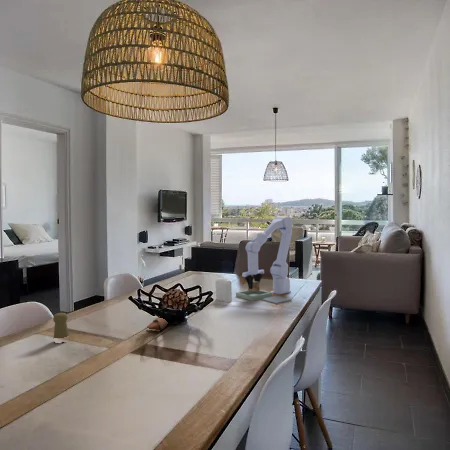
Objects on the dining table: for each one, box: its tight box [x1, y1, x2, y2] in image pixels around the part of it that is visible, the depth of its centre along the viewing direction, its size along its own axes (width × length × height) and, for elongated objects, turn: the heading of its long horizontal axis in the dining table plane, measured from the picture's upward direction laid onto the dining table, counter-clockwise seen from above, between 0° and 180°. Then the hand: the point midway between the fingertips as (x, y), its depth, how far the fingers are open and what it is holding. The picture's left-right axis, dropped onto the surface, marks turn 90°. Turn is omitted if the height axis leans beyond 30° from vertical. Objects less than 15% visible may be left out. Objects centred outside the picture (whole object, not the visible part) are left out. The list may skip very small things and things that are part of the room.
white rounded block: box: [215, 277, 233, 303], centre depth 211 cm, size 10×4×12 cm, turn 39°
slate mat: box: [261, 295, 292, 305], centre depth 208 cm, size 11×11×1 cm
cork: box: [52, 312, 70, 339], centre depth 154 cm, size 6×6×11 cm
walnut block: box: [247, 280, 261, 292], centre depth 218 cm, size 4×5×5 cm
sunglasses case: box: [146, 317, 169, 331], centre depth 171 cm, size 18×7×7 cm, turn 168°
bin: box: [235, 289, 273, 302], centre depth 218 cm, size 14×14×2 cm
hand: (253, 288), depth 218 cm, fingers closed on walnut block, 4 cm apart
